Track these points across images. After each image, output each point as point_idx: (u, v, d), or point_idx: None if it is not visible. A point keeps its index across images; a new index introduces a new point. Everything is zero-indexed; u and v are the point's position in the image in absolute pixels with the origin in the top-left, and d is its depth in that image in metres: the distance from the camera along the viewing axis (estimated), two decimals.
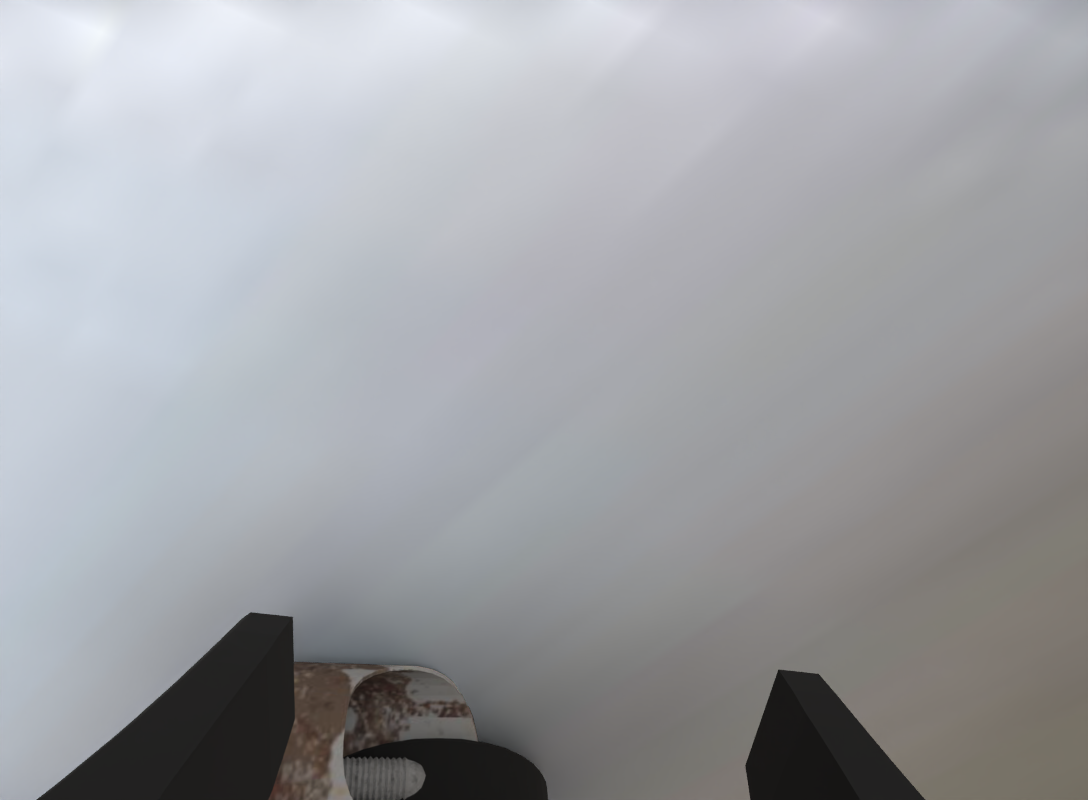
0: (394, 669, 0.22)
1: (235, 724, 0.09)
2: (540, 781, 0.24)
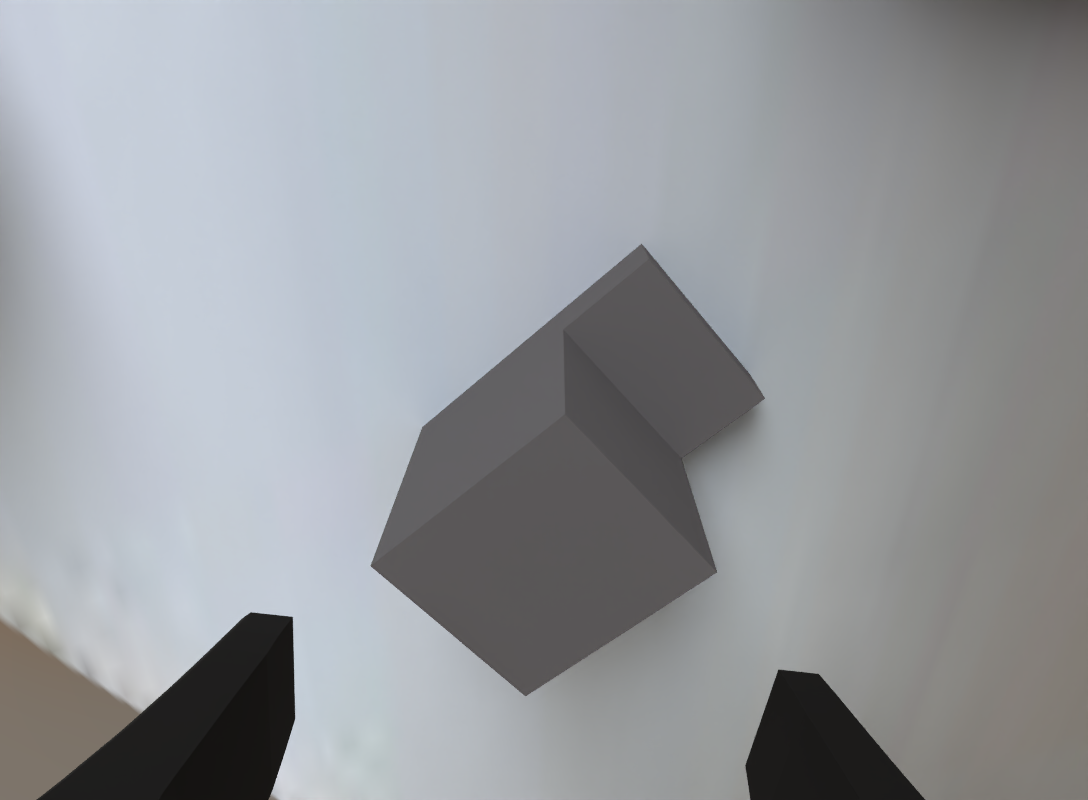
0: None
1: (236, 724, 0.09)
2: None
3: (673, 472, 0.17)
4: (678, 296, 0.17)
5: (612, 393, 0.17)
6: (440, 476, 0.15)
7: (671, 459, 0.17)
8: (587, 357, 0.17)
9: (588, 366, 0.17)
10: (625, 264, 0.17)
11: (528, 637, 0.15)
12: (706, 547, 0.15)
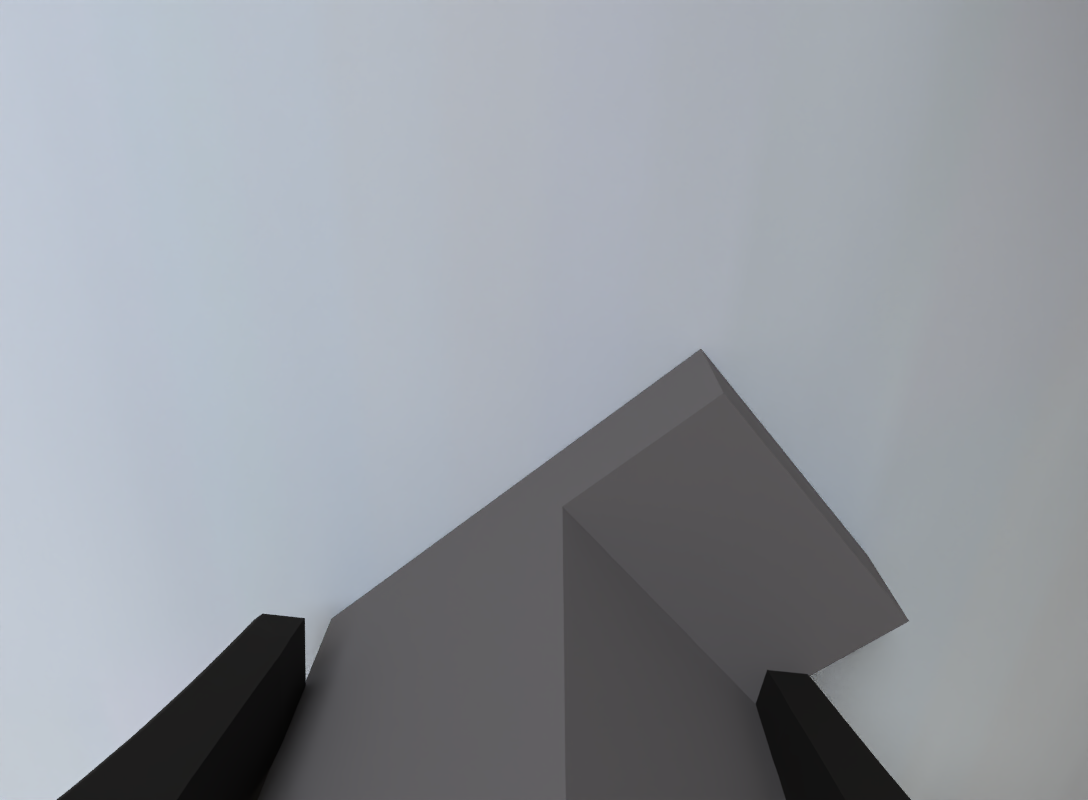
0: None
1: (251, 726, 0.09)
2: None
3: (756, 773, 0.09)
4: (772, 457, 0.09)
5: (648, 626, 0.09)
6: None
7: (747, 729, 0.10)
8: (604, 553, 0.10)
9: (607, 581, 0.09)
10: (674, 387, 0.10)
11: None
12: None
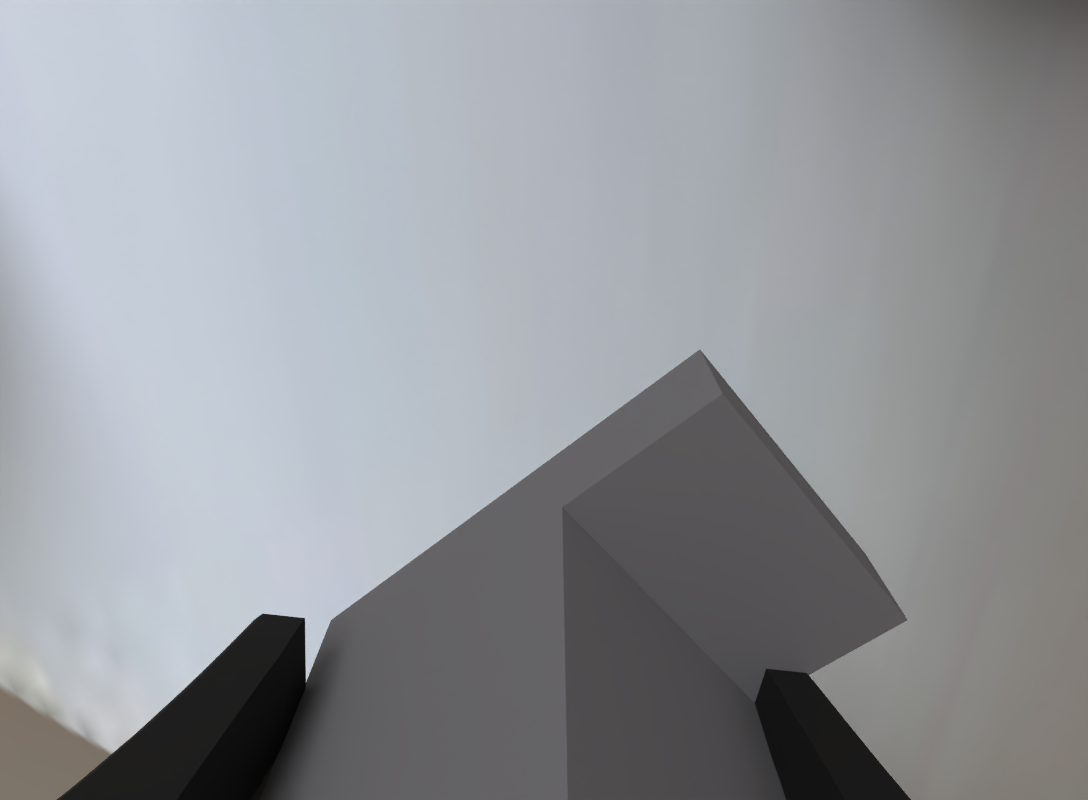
0: None
1: (250, 725, 0.09)
2: None
3: (756, 772, 0.09)
4: (771, 457, 0.09)
5: (648, 626, 0.09)
6: None
7: (746, 728, 0.10)
8: (604, 554, 0.10)
9: (607, 581, 0.09)
10: (673, 388, 0.10)
11: None
12: None
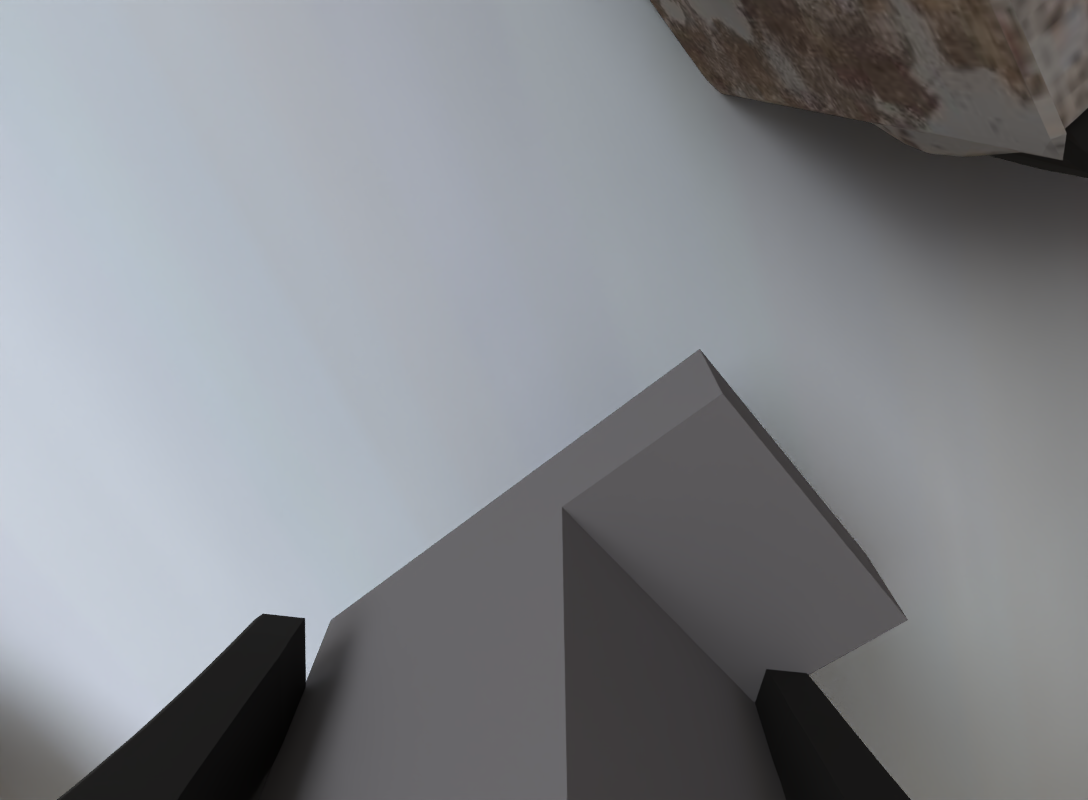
0: None
1: (251, 726, 0.09)
2: None
3: (756, 772, 0.09)
4: (771, 457, 0.09)
5: (648, 626, 0.09)
6: None
7: (746, 728, 0.10)
8: (603, 554, 0.10)
9: (606, 581, 0.09)
10: (672, 388, 0.10)
11: None
12: None
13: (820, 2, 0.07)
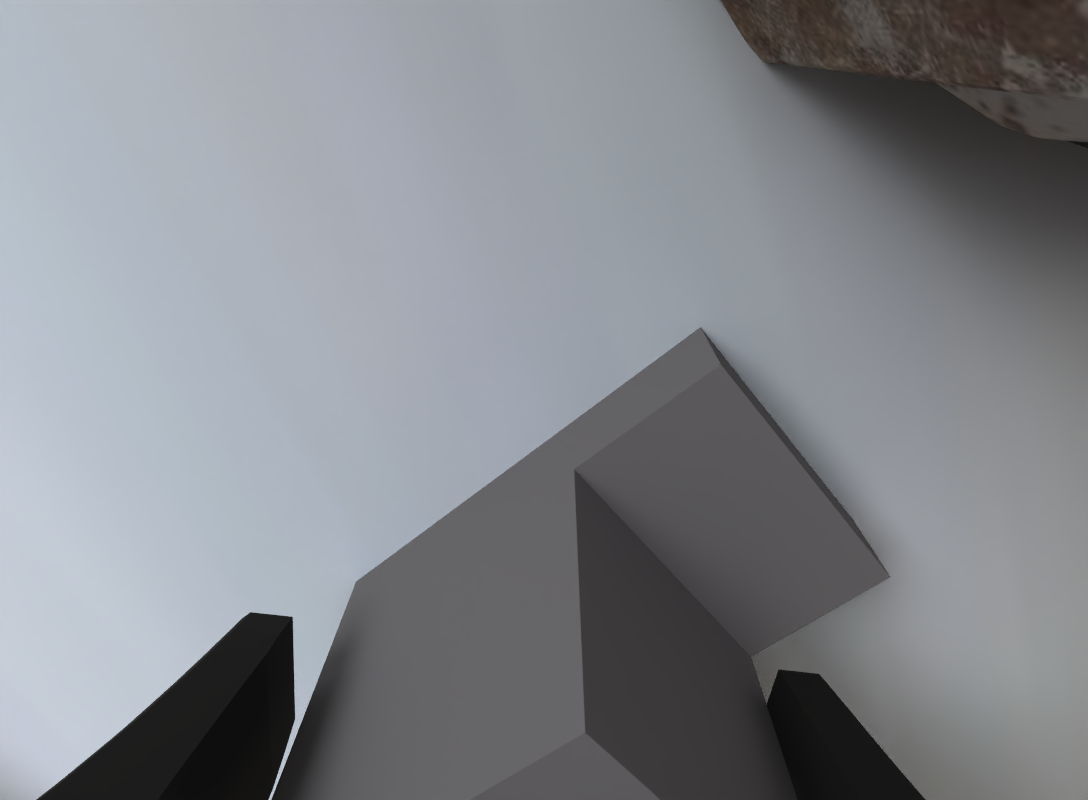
0: None
1: (235, 724, 0.09)
2: None
3: (750, 710, 0.10)
4: (765, 423, 0.10)
5: (652, 577, 0.10)
6: (356, 747, 0.09)
7: (742, 674, 0.11)
8: (612, 513, 0.11)
9: (615, 535, 0.10)
10: (675, 362, 0.11)
11: None
12: None
13: None
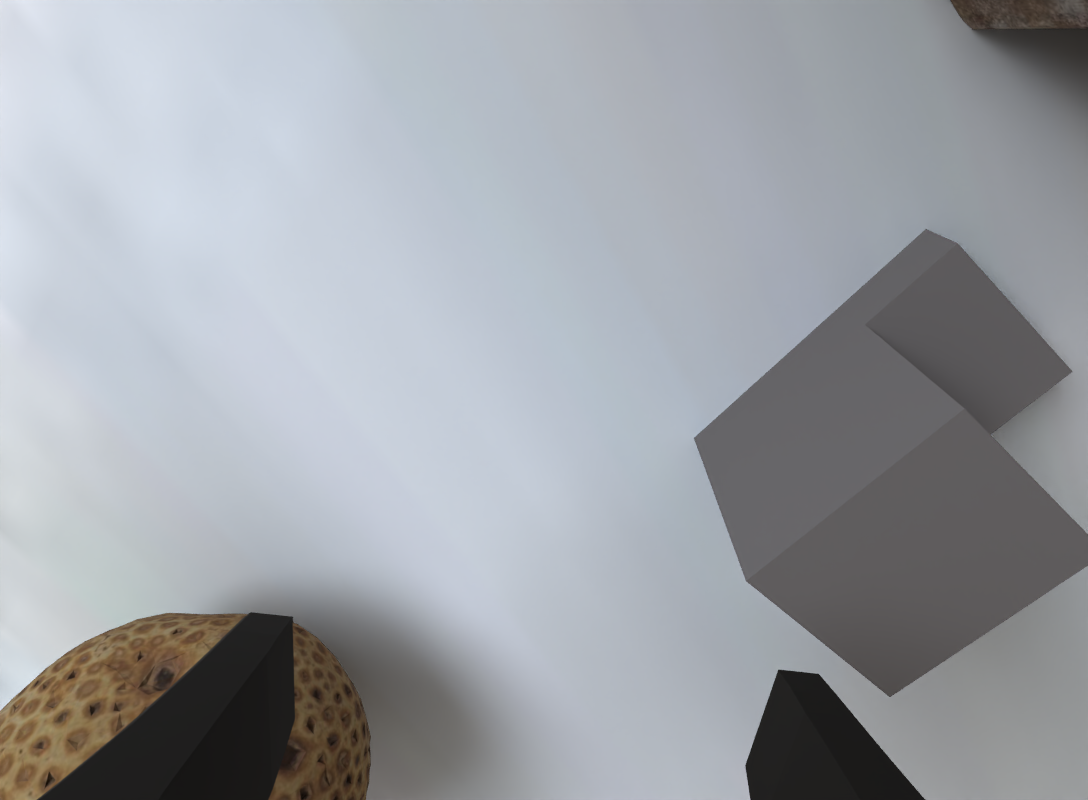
0: None
1: (235, 724, 0.09)
2: None
3: None
4: (986, 277, 0.16)
5: None
6: (783, 484, 0.15)
7: None
8: None
9: None
10: (916, 251, 0.17)
11: (900, 637, 0.15)
12: None
13: None
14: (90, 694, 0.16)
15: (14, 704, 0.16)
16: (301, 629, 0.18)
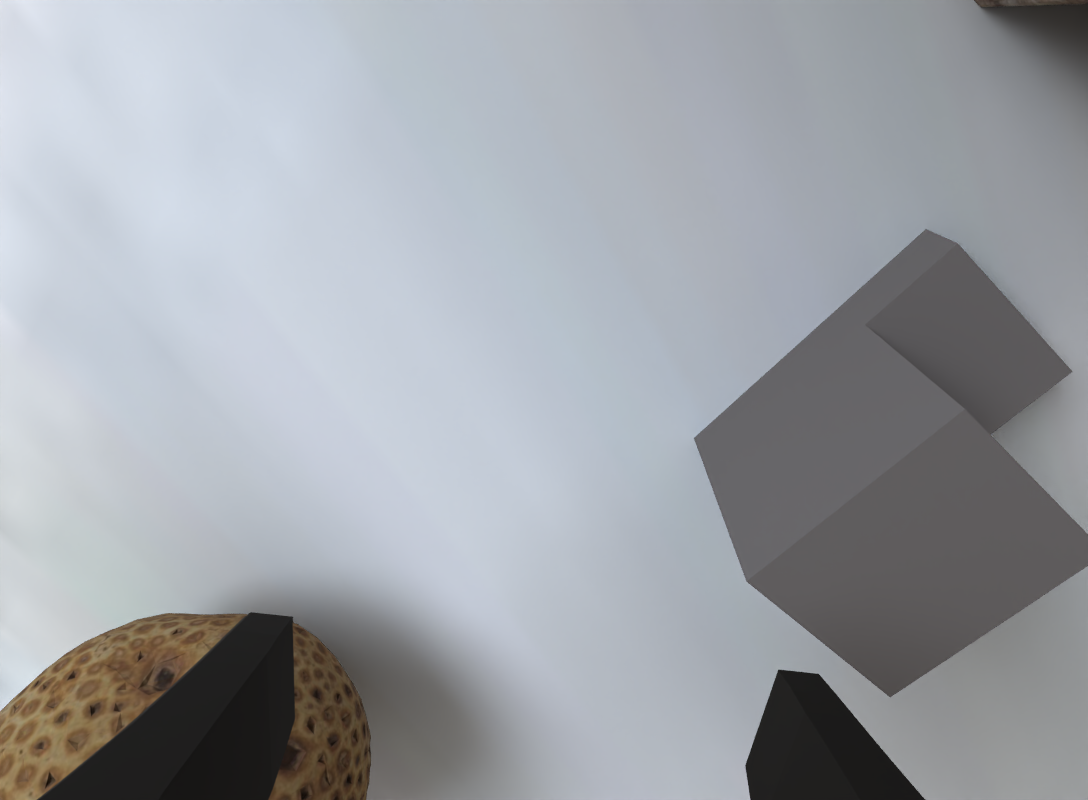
0: None
1: (235, 725, 0.09)
2: None
3: None
4: (986, 277, 0.16)
5: None
6: (784, 485, 0.15)
7: None
8: None
9: None
10: (916, 251, 0.17)
11: (900, 637, 0.15)
12: None
13: None
14: (91, 695, 0.16)
15: (14, 704, 0.16)
16: (301, 629, 0.18)
